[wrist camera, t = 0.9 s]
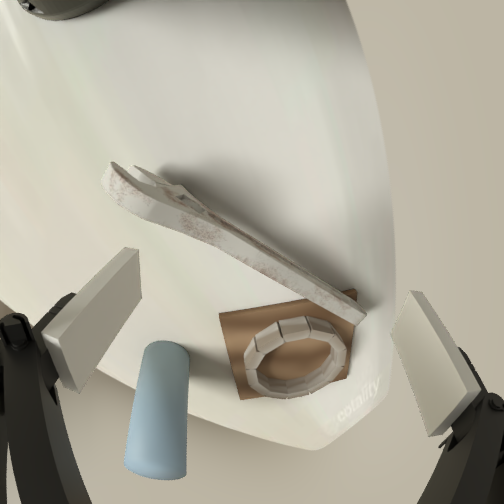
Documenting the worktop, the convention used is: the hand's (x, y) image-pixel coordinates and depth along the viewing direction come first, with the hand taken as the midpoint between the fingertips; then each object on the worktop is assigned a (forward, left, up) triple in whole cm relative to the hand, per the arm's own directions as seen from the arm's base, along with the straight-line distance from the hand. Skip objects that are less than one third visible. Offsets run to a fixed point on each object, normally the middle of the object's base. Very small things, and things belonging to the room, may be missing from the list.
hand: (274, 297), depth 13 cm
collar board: (+20, +3, -16) cm, 26 cm away
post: (+18, -12, -16) cm, 27 cm away
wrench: (+5, +1, -16) cm, 16 cm away
